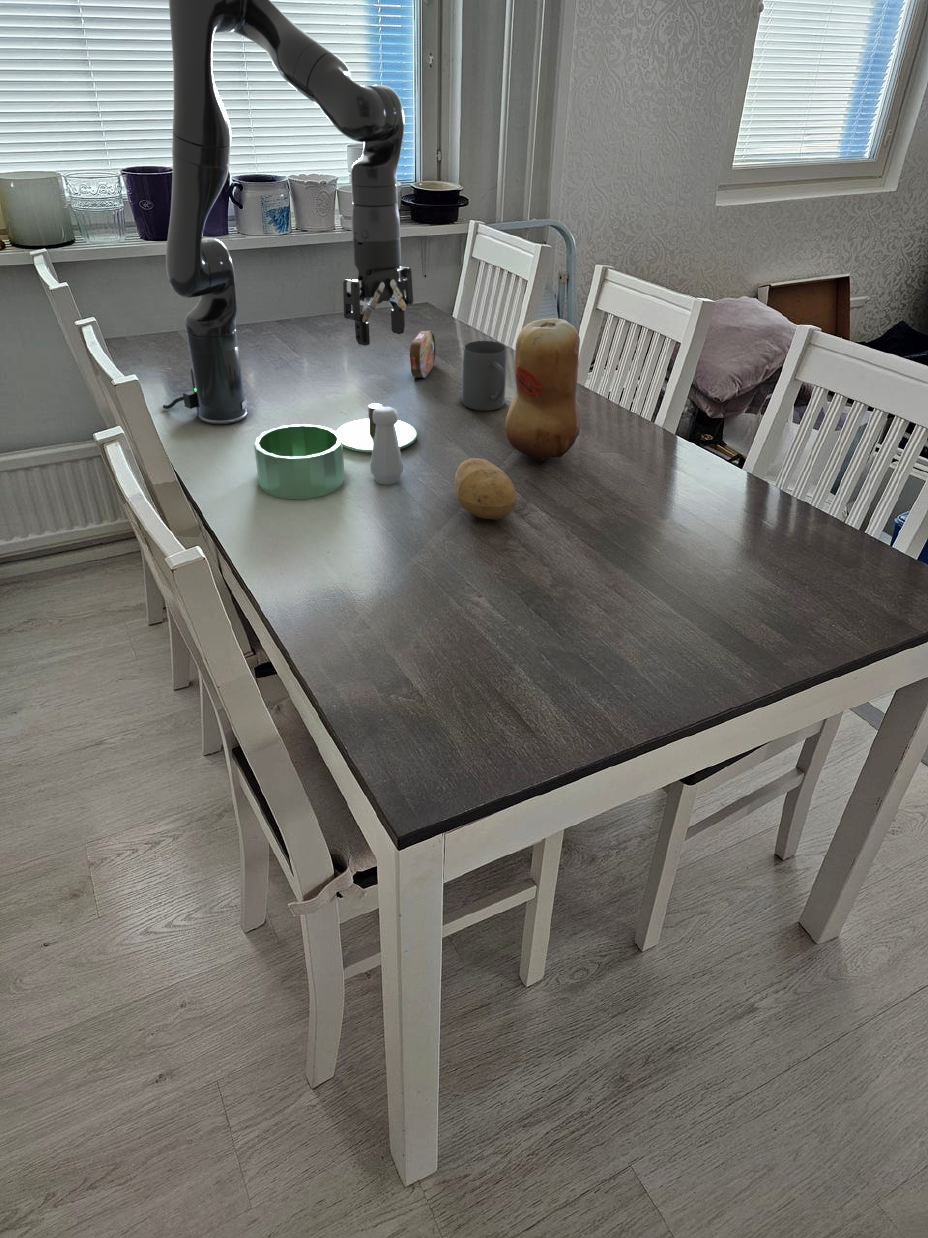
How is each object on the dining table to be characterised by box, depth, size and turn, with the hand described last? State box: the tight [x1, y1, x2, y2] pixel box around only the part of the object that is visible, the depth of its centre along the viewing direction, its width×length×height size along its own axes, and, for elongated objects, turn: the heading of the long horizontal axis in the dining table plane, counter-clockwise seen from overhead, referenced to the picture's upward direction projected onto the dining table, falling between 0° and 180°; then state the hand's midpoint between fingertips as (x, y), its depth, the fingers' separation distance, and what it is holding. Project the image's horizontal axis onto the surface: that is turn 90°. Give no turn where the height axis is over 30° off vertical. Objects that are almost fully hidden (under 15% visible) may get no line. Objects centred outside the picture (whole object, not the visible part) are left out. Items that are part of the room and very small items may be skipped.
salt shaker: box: [369, 406, 404, 486], centre depth 147 cm, size 6×6×13 cm
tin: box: [409, 330, 436, 379], centre depth 196 cm, size 15×3×8 cm, turn 168°
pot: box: [253, 423, 345, 500], centre depth 148 cm, size 15×15×7 cm
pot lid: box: [335, 403, 418, 453], centre depth 164 cm, size 16×16×7 cm
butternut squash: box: [504, 317, 581, 462], centre depth 153 cm, size 14×13×25 cm
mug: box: [461, 340, 508, 412], centre depth 178 cm, size 14×9×12 cm
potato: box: [454, 457, 517, 521], centre depth 139 cm, size 10×14×8 cm
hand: (380, 338), depth 144 cm, fingers open, 8 cm apart
